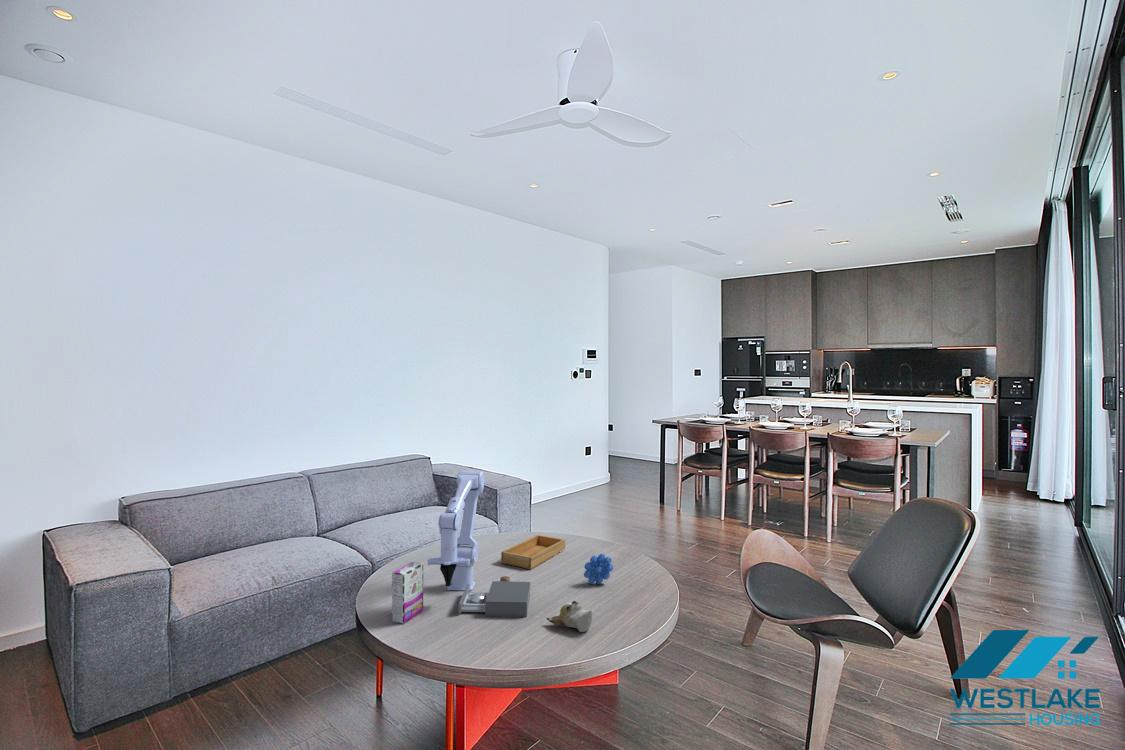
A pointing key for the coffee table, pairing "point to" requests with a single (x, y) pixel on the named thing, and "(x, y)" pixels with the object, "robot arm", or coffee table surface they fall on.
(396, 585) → the candy bar box
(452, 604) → the coffee table surface
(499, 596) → the player housing
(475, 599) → the silver disc
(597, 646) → the coffee table surface
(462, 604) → the tray
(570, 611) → the ceramic sculpture
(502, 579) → the walnut disc stand
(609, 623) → the coffee table surface
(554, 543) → the tray
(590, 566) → the blue flower shape
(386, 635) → the coffee table surface
